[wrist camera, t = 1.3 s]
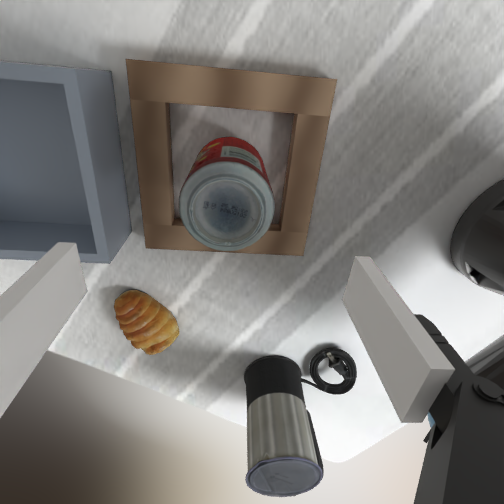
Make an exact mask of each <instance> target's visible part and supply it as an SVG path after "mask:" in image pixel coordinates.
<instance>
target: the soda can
mask: <svg viewBox="0 0 504 504" xmlns="http://www.w3.org/2000/svg"><path fill="white" fill-rule="evenodd" d="M274 211H275V202H274V196H273V192H272V189H271V186H270V183H269V180H268V177H267V174H266V171H265V167H264V164H263V161H262V158H261V157H260V155H259V153H258V151H257V150H256V149H255V148H254V147H253V146H252V145H250V144H249V143H248V142H246V141H244V140H242V139H239V138H235V137H222V138H218V139H215V140H213V141H211V142H209V143H208V144H207V145H206V146H205V147H203V149H202V150H201V151H200V153H199V154H198V156H197V159H196V161H195V163H194V164H193V166H192V168H191V170H190V172H189V174H188V176H187V178H186V180H185V182H184V184H183V186H182V189H181V191H180V196H179V212H180V216H181V219H182V222H183V225H184V226H185V228H186V229H187V231H188V232H189V234H190V235H191V236H192V237H193V238H194V239H195V240H197V241H199V242H200V243H202V244H203V245H205V246H207V247H209V248H212V249H216V250H220V251H235V250H239V249H243V248H245V247H247V246H251V245H252V244H254V243H255V242H257V241H258V240H259V239H260V238H261V237H262V236H264V235H265V233H266V232H267V230H268V229H269V227H270V225H271V223H272V220H273V216H274Z"/></svg>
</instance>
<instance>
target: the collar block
mask: <svg viewBox="0 0 504 504" xmlns="http://www.w3.org/2000/svg"><path fill="white" fill-rule="evenodd" d="M126 66H127V75H128V85H129V94H130V104H131V113H132V123H133V132H134V142H135V151H136V161H137V170H138V179H139V189H140V198H141V208H142V217H143V227H144V236H145V246H146V248H150V249H171V250H191V251H212V252H233V253H253V254H274V255H295V256H303V254H304V249H305V244H306V238H307V233H308V228H309V223H310V218H311V212H312V207H313V202H314V197H315V192H316V186H317V181H318V176H319V171H320V166H321V160H322V155H323V150H324V145H325V140H326V135H327V129H328V124H329V119H330V114H331V109H332V103H333V98H334V93H335V88H336V83H337V79H328V78H318V77H307V76H297V75H287V74H276V73H266V72H256V71H245V70H235V69H225V68H214V67H204V66H194V65H183V64H173V63H163V62H152V61H142V60H132V59H126ZM169 103H178V104H190V105H202V106H213V107H225V108H236V109H248V110H259V111H271V112H282V113H294V119H293V126H292V133H291V140H290V147H289V155H288V162H287V169H286V176H285V184H284V191H283V198H282V205H281V213H280V220H279V224H271V225H270V227H269V229H268V230H267V232H266V233H265V235H264V236H262V237H261V238H260V239H259V240H258V241H257V242H255V243H254V244H252V245H251V246H247V247H245V248H243V249H239V250H235V251H220V250H216V249H212V248H209V247H207V246H205V245H203V244H202V243H200V242H199V241H197V240H195V239H194V238H193V237H192V236H191V235H190V234H189V232H188V231H187V229H186V228H185V226H184V225H183V222H182V219H181V218H175V211H174V190H173V169H172V149H171V128H170V107H169Z"/></svg>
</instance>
